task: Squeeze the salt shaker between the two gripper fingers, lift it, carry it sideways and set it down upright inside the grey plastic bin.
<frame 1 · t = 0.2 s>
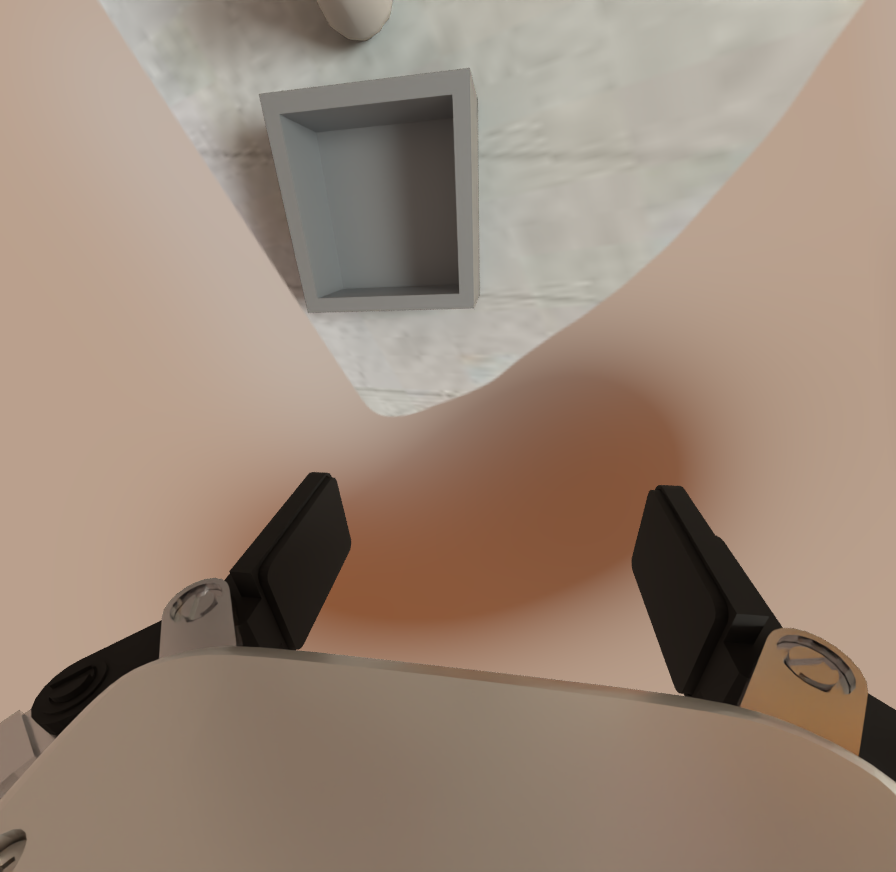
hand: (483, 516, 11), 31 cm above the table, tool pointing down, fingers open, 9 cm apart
bin: (398, 213, 35), on the table
salt shaker: (365, 1, 29), on the table
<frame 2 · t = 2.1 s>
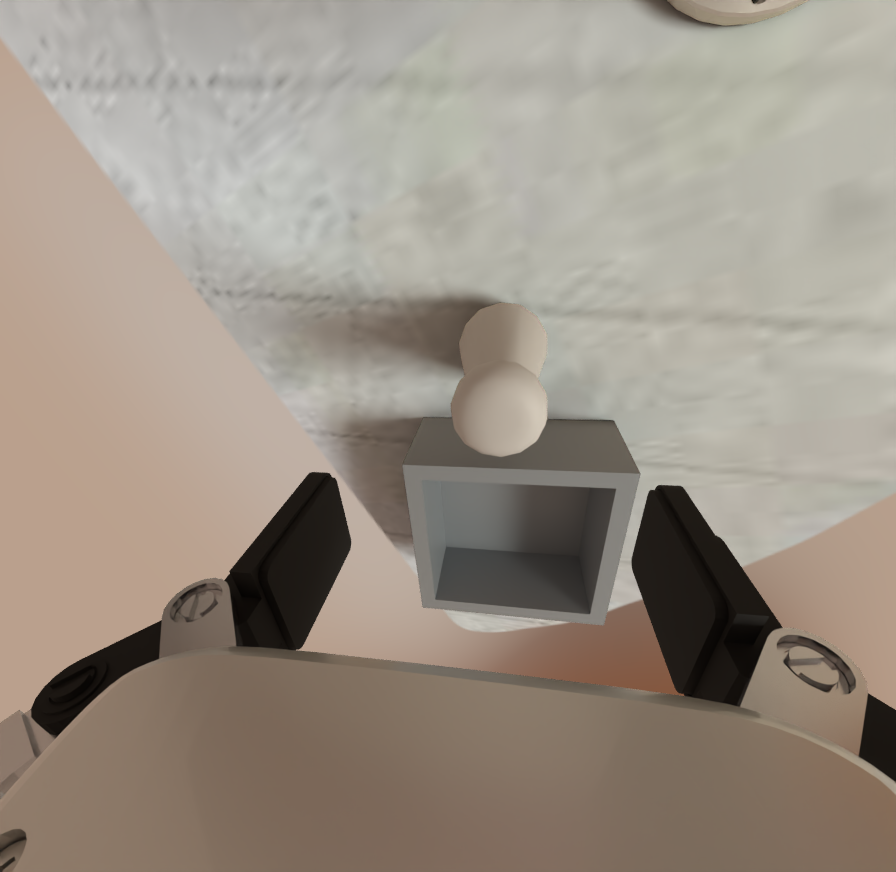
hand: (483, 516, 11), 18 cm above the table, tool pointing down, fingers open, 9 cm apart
bin: (512, 493, 34), on the table
salt shaker: (503, 337, 27), on the table
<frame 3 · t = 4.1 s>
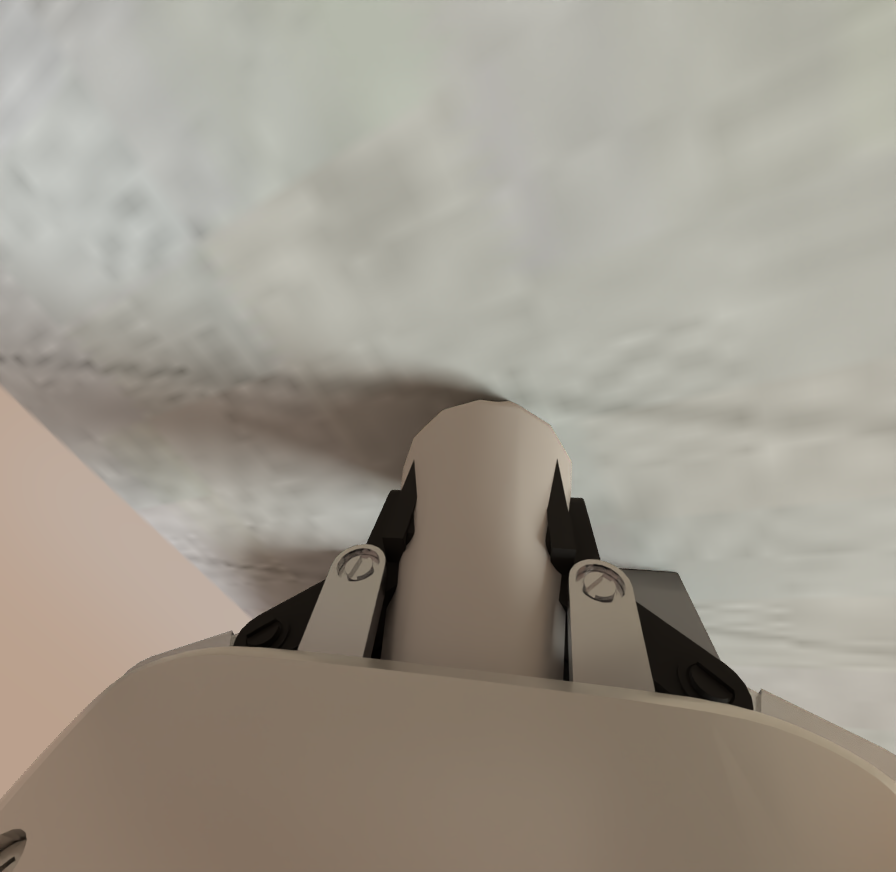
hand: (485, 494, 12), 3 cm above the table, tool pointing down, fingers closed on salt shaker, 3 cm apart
bin: (507, 653, 22), on the table
salt shaker: (489, 442, 15), on the table, touching gripper
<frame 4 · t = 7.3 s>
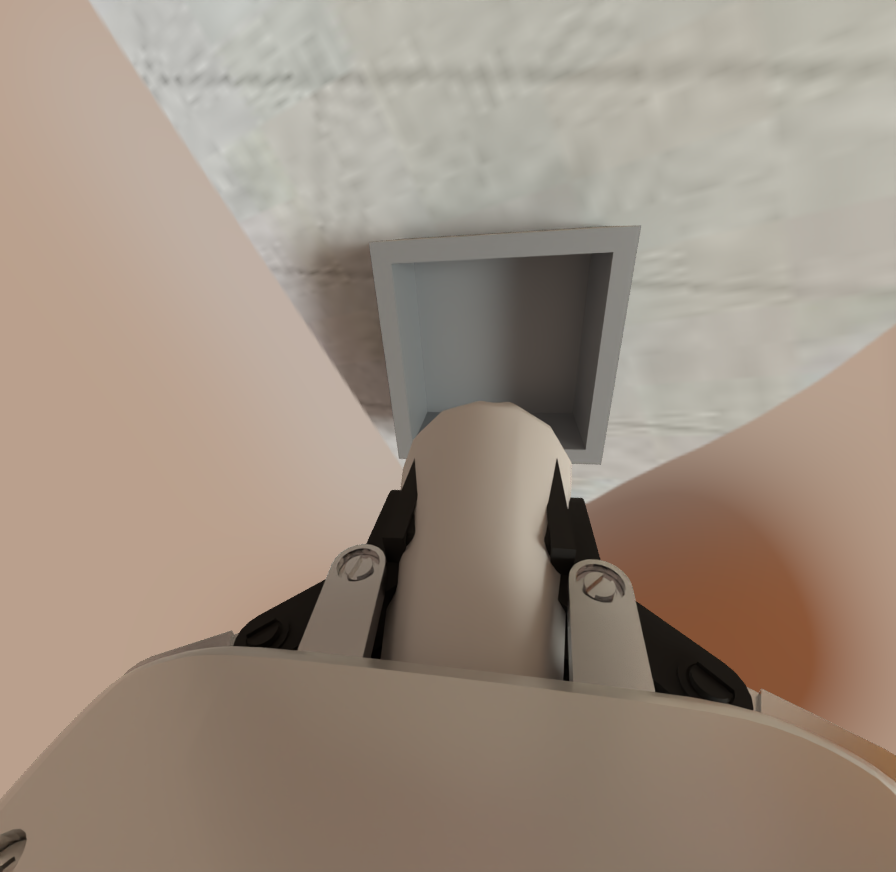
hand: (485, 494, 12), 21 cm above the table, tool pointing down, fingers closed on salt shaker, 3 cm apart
bin: (499, 337, 30), on the table
salt shaker: (489, 443, 15), point 17 cm above the table, touching gripper
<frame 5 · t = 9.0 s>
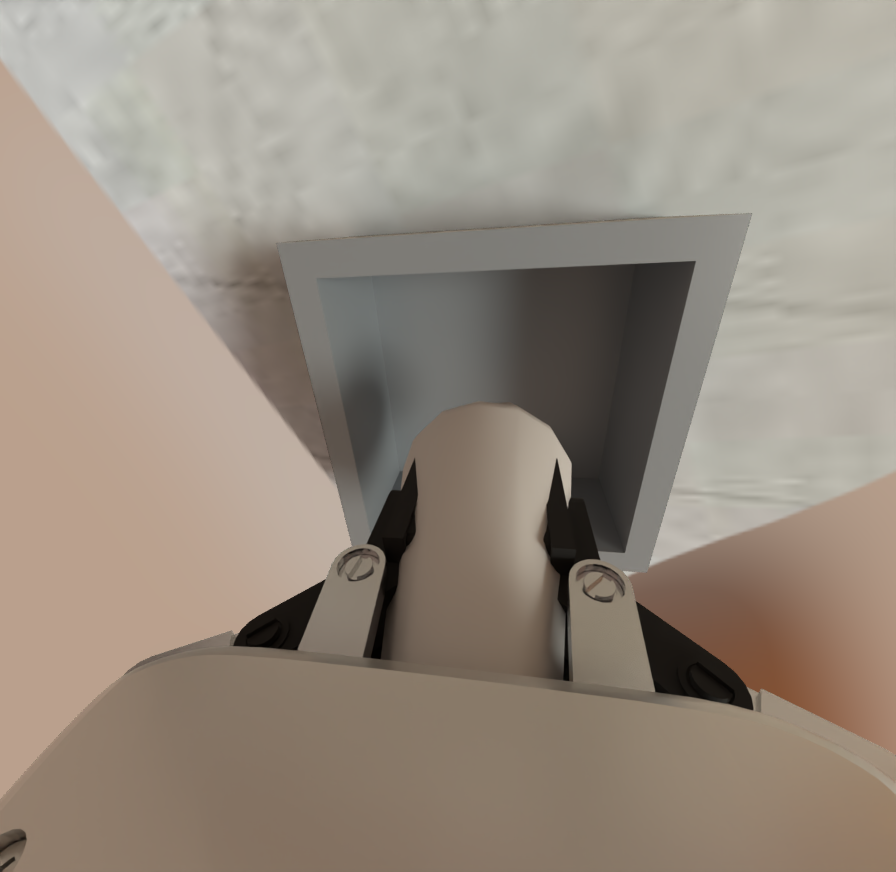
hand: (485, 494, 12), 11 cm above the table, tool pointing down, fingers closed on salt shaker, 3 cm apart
bin: (496, 375, 22), on the table
salt shaker: (489, 443, 15), point 7 cm above the table, touching gripper
when the fingers open (6 cm above the table, at t = 10.3 s): salt shaker drops 1 cm, resting on bin.
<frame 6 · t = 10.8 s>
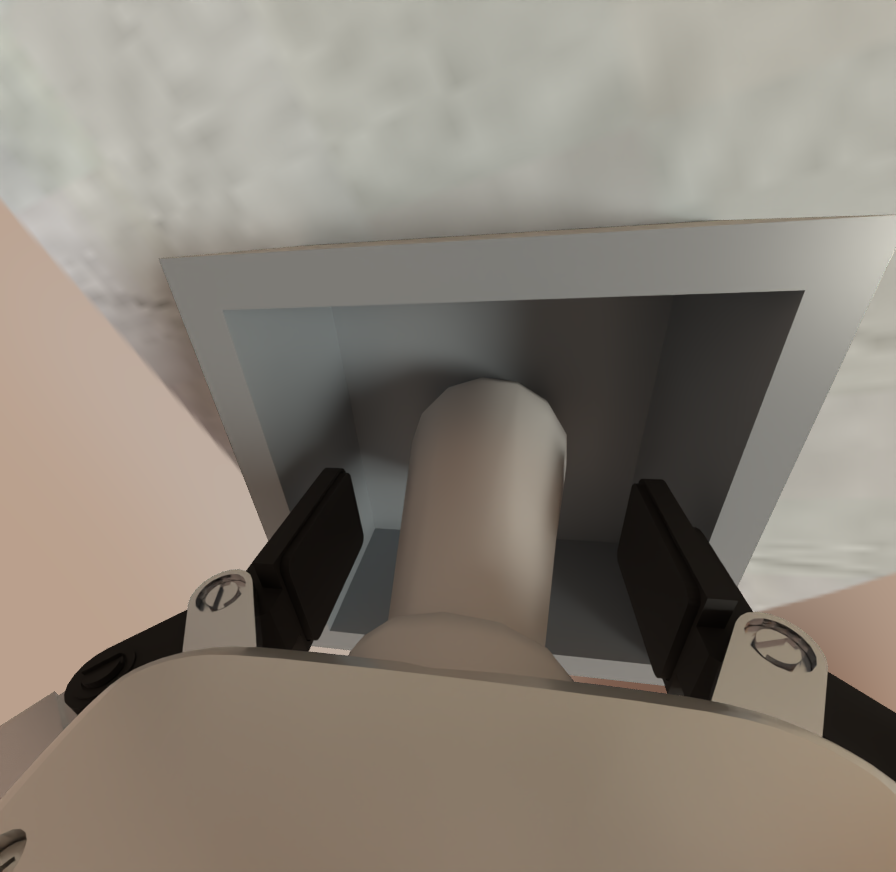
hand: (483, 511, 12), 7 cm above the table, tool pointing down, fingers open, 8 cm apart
bin: (492, 418, 17), on the table
salt shaker: (492, 422, 16), point 1 cm above the table, touching bin
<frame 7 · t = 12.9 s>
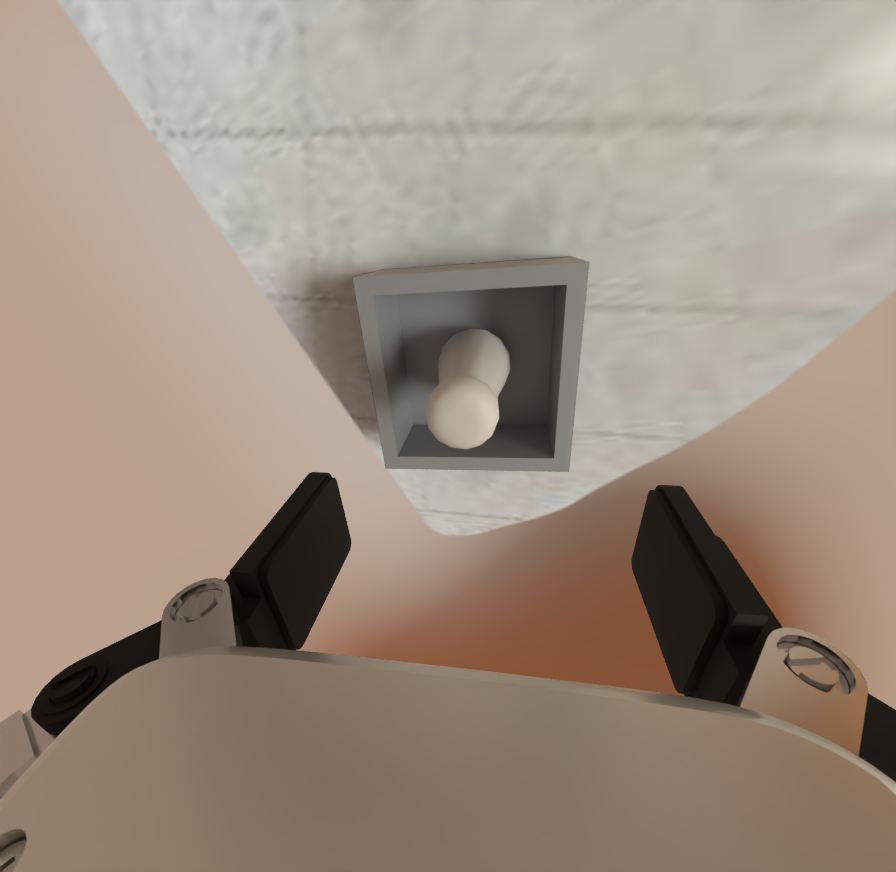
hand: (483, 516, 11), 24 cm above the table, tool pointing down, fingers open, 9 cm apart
bin: (476, 355, 33), on the table
salt shaker: (476, 356, 32), point 1 cm above the table, touching bin
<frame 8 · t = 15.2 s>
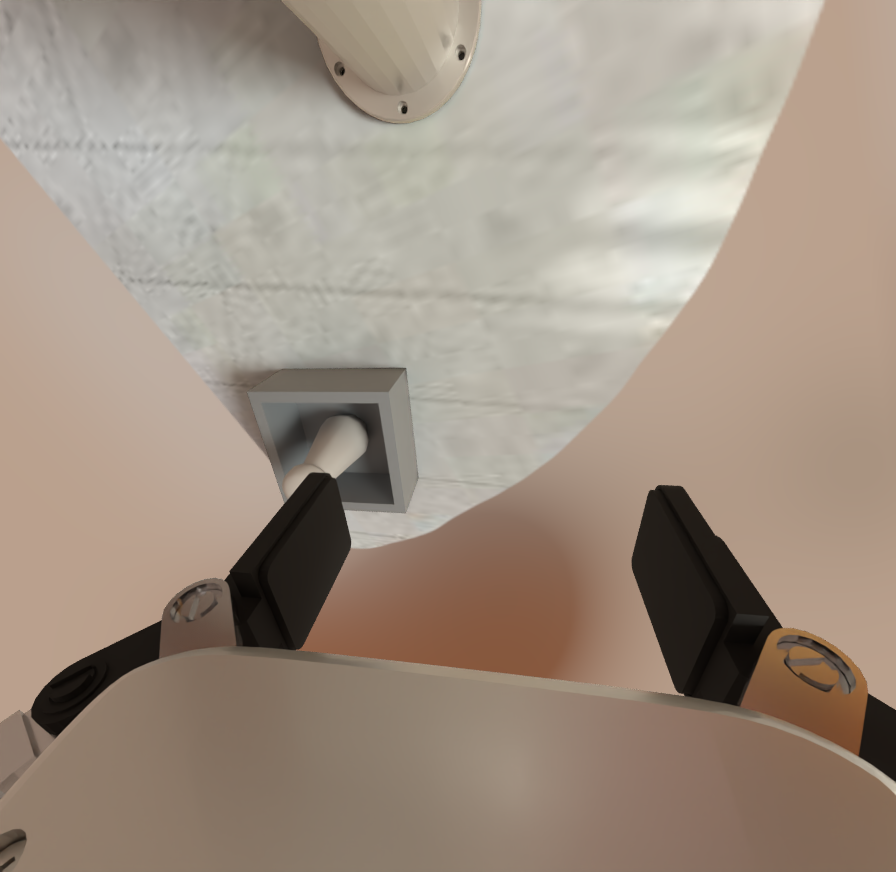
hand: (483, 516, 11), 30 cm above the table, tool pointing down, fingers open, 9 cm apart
bin: (354, 426, 47), on the table
salt shaker: (351, 428, 46), point 1 cm above the table, touching bin
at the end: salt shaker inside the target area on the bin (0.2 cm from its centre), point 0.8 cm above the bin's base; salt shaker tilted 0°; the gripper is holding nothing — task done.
